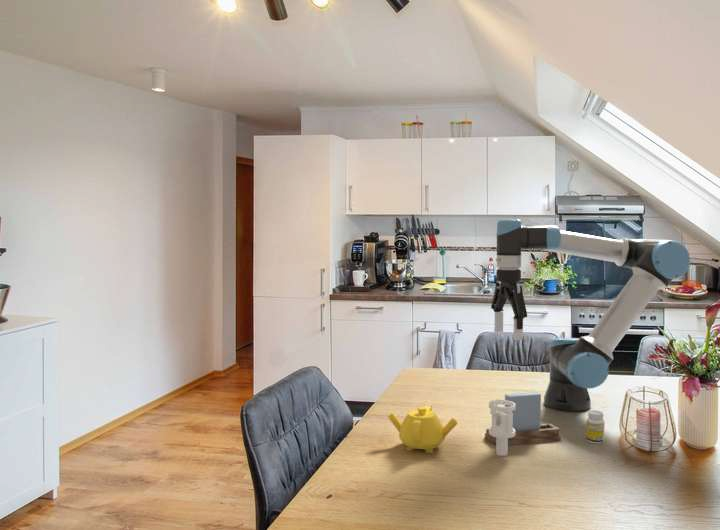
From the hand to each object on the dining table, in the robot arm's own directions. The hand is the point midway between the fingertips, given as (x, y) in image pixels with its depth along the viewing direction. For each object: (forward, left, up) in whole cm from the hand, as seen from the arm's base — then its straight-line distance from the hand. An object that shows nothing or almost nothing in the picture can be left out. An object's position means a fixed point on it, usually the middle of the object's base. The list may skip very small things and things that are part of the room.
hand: (508, 335), depth 196 cm
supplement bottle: (-15, +25, -27) cm, 40 cm away
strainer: (+15, +27, -27) cm, 41 cm away
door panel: (+4, +18, -26) cm, 32 cm away
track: (+4, +18, -27) cm, 32 cm away
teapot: (+34, +17, -27) cm, 47 cm away
